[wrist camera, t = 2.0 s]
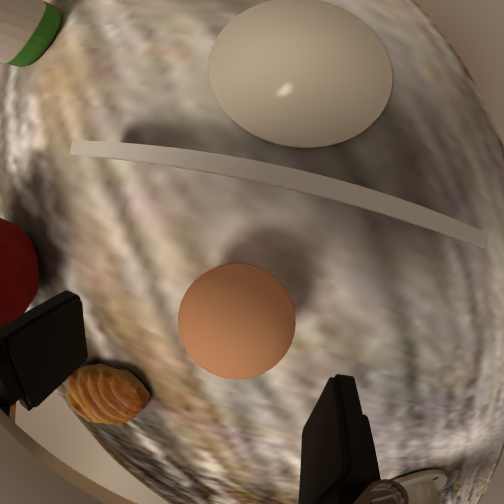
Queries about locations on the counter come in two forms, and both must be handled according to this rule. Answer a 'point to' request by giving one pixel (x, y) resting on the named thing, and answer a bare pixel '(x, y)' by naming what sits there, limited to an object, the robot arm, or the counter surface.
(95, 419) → the pastry
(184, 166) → the wall
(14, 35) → the wine bottle
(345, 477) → the robot arm
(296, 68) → the saucer
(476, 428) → the counter surface
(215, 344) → the ball
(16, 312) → the apple
